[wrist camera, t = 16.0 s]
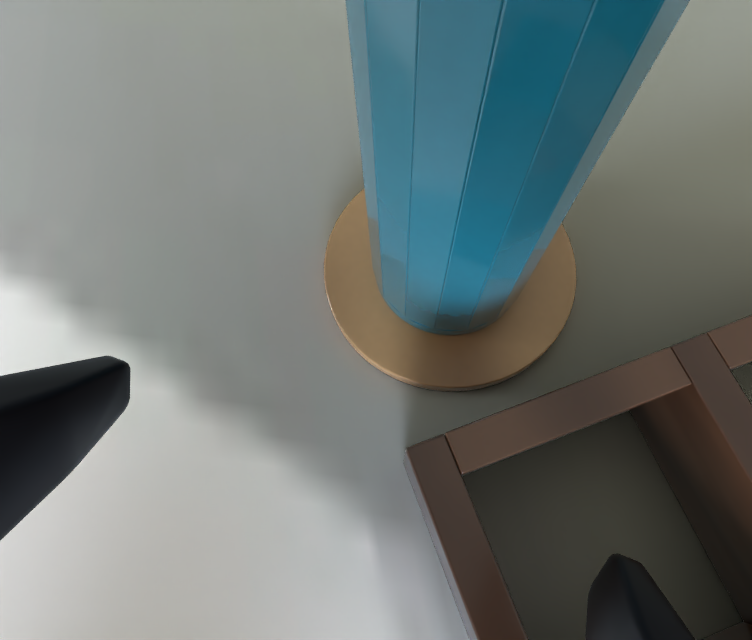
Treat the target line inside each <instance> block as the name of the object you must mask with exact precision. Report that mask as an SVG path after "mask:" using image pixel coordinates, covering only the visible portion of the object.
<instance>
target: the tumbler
mask: <svg viewBox="0 0 752 640" xmlns="http://www.w3.org/2000/svg"><path fill="white" fill-rule="evenodd" d="M689 1H690V0H346V10H347V20H348V30H349V40H350V49H351V59H352V69H353V79H354V89H355V99H356V109H357V119H358V129H359V138H360V148H361V158H362V168H363V178H364V188H365V198H366V208H367V218H368V227H369V237H370V247H371V257H372V267H373V272H374V274H375V280H376V283H377V286H378V289H379V291H380V294H381V296H382V298H383V299H384V301H385V302H386V304H387V305H388V306H389V307H390V309H391V310H392V311H393V312H394V313H395V314H396V315H397V316H399V317H400V318H401V319H402V320H404V321H405V322H407V323H408V324H410V325H412V326H414V327H416V328H418V329H421V330H423V331H426V332H430V333H434V334H440V335H461V334H468V333H472V332H475V331H478V330H481V329H483V328H485V327H487V326H489V325H491V324H492V323H494V322H496V321H497V320H498V319H499V318H501V317H502V316H503V315H504V314H505V313H506V312H507V311H508V310H509V309H510V307H511V306H512V304H513V303H514V302H515V301H516V300H517V298H518V297H519V295H520V294H521V292H522V290H523V288H524V287H525V285H526V283H527V282H528V280H529V278H530V276H531V275H532V273H533V271H534V269H535V268H536V266H537V264H538V263H539V261H540V259H541V257H542V256H543V254H544V252H545V250H546V249H547V247H548V245H549V243H550V242H551V240H552V238H553V237H554V235H555V233H556V231H557V230H558V228H559V226H560V224H561V223H562V221H563V219H564V218H565V216H566V214H567V212H568V211H569V209H570V207H571V205H572V204H573V202H574V200H575V198H576V197H577V195H578V193H579V192H580V190H581V188H582V186H583V185H584V183H585V181H586V179H587V178H588V176H589V174H590V172H591V171H592V169H593V167H594V166H595V164H596V162H597V160H598V159H599V157H600V155H601V153H602V152H603V150H604V148H605V147H606V145H607V143H608V141H609V140H610V138H611V136H612V134H613V133H614V131H615V129H616V127H617V126H618V124H619V122H620V121H621V119H622V117H623V115H624V114H625V112H626V110H627V108H628V107H629V105H630V103H631V102H632V100H633V98H634V96H635V95H636V93H637V91H638V89H639V88H640V86H641V84H642V82H643V81H644V79H645V77H646V76H647V74H648V72H649V70H650V69H651V67H652V65H653V63H654V62H655V60H656V58H657V56H658V55H659V53H660V51H661V50H662V48H663V46H664V44H665V43H666V41H667V39H668V37H669V36H670V34H671V32H672V31H673V29H674V27H675V25H676V24H677V22H678V20H679V18H680V17H681V15H682V13H683V11H684V10H685V8H686V6H687V5H688V3H689Z"/></svg>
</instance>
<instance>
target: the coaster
mask: <svg viewBox="0 0 752 640" xmlns="http://www.w3.org/2000/svg"><path fill="white" fill-rule="evenodd" d="M324 281H325V288H326V294H327V297H328V301H329V304H330V308H331V311H332V313H333V316H334V318H335V320H336V322H337V325H338V326H339V328H340V330H341V331H342V333H343V334H344V336H345V338H346V339H347V340H348V342H349V343H350V344H351V345H352V346H353V348H354V349H355V350H356V351H357V352H358V353H359V354H360V355H361V356H362V357H363V358H364V359H366V360H367V361H368V362H369V363H370V364H372V365H373V366H375V367H376V368H377V369H379V370H380V371H382V372H383V373H385V374H387V375H389V376H391V377H393V378H395V379H397V380H399V381H402V382H405V383H407V384H410V385H413V386H417V387H421V388H425V389H430V390H439V391H468V390H474V389H480V388H485V387H488V386H491V385H494V384H498V383H500V382H503V381H505V380H507V379H509V378H511V377H513V376H515V375H517V374H519V373H520V372H522V371H523V370H525V369H526V368H528V367H529V366H530V365H532V364H533V363H534V362H535V361H536V360H537V359H539V358H540V357H541V356H542V355H543V354H544V353H545V352H546V351H547V349H548V348H549V347H550V346H551V345H552V344H553V343H554V341H555V340H556V339H557V337H558V336H559V334H560V332H561V331H562V329H563V328H564V326H565V324H566V321H567V319H568V317H569V315H570V312H571V309H572V305H573V302H574V298H575V290H576V264H575V259H574V253H573V249H572V246H571V243H570V240H569V237H568V235H567V233H566V231H565V229H564V227H563V225H562V223H561V224H560V226H559V228H558V230H557V231H556V233H555V235H554V237H553V238H552V240H551V242H550V243H549V245H548V247H547V249H546V250H545V252H544V254H543V256H542V257H541V259H540V261H539V263H538V264H537V266H536V268H535V269H534V271H533V273H532V275H531V276H530V278H529V280H528V282H527V283H526V285H525V287H524V288H523V290H522V292H521V294H520V295H519V297H518V298H517V300H516V301H515V302H514V303H513V304H512V306H511V307H510V309H509V310H508V311H507V312H506V313H505V314H504V315H503V316H502V317H501V318H499V319H498V320H497V321H496V322H494V323H492V324H491V325H489V326H487V327H485V328H483V329H481V330H478V331H475V332H472V333H468V334H461V335H440V334H434V333H430V332H426V331H423V330H421V329H418V328H416V327H414V326H412V325H410V324H408V323H407V322H405V321H404V320H402V319H401V318H400V317H399V316H397V315H396V314H395V313H394V312H393V311H392V310H391V309H390V307H389V306H388V305H387V304H386V302H385V301H384V299H383V298H382V296H381V294H380V291H379V289H378V286H377V283H376V280H375V274H374V272H373V267H372V257H371V247H370V237H369V227H368V218H367V208H366V198H365V188H364V189H363V190H362V191H361V192H360V193H359V194H357V195H356V196H355V197H354V198H353V199H352V201H351V202H350V203H349V204H348V205H347V207H346V208H345V209H344V210H343V212H342V214H341V215H340V217H339V218H338V220H337V222H336V224H335V226H334V228H333V230H332V232H331V235H330V238H329V241H328V244H327V248H326V254H325V260H324Z"/></svg>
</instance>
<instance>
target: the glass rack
mask: <svg viewBox="0 0 752 640" xmlns="http://www.w3.org/2000/svg"><path fill="white" fill-rule="evenodd" d="M751 362H752V315H750V316H747V317H745V318H742V319H740V320H737V321H734V322H732V323H729V324H727V325H724V326H721V327H719V328H716V329H714V330H711V331H708V332H706V333H703V334H701V335H698V336H695V337H693V338H690V339H688V340H685V341H682V342H680V343H677V344H675V345H672V346H670V347H667V348H664V349H662V350H659V351H656V352H654V353H651V354H649V355H646V356H643V357H641V358H638V359H636V360H633V361H630V362H628V363H625V364H623V365H620V366H617V367H615V368H612V369H610V370H607V371H604V372H602V373H599V374H597V375H594V376H591V377H589V378H586V379H584V380H581V381H578V382H576V383H573V384H571V385H568V386H565V387H563V388H560V389H558V390H555V391H552V392H550V393H547V394H544V395H542V396H539V397H537V398H534V399H531V400H529V401H526V402H524V403H521V404H518V405H516V406H513V407H511V408H508V409H505V410H503V411H500V412H498V413H495V414H492V415H490V416H487V417H485V418H482V419H479V420H477V421H474V422H472V423H469V424H466V425H464V426H461V427H459V428H456V429H453V430H451V431H448V432H446V433H445V434H441V435H438V436H435V437H433V438H430V439H428V440H425V441H422V442H420V443H417V444H415V445H412V446H409V447H407V448H406V449H405V456H404V466H405V469H406V471H407V474H408V477H409V479H410V482H411V485H412V487H413V490H414V493H415V495H416V498H417V501H418V503H419V506H420V509H421V511H422V514H423V517H424V519H425V522H426V525H427V527H428V530H429V533H430V535H431V538H432V541H433V543H434V546H435V549H436V551H437V554H438V557H439V559H440V562H441V565H442V567H443V570H444V573H445V575H446V578H447V581H448V583H449V586H450V589H451V591H452V594H453V597H454V599H455V602H456V605H457V607H458V610H459V613H460V615H461V618H462V621H463V623H464V626H465V629H466V631H467V634H468V637H469V639H470V640H529V639H528V636H527V634H526V632H525V629H524V627H523V624H522V622H521V619H520V617H519V615H518V612H517V610H516V607H515V605H514V602H513V600H512V597H511V595H510V593H509V590H508V588H507V585H506V583H505V580H504V578H503V575H502V573H501V571H500V568H499V566H498V563H497V561H496V558H495V556H494V553H493V551H492V549H491V546H490V544H489V541H488V539H487V536H486V534H485V532H484V529H483V527H482V524H481V522H480V519H479V517H478V514H477V512H476V510H475V507H474V505H473V502H472V500H471V497H470V495H469V492H468V490H467V488H466V485H465V483H464V480H463V478H462V476H464V475H467V474H469V473H472V472H474V471H477V470H479V469H482V468H484V467H487V466H489V465H492V464H495V463H497V462H500V461H502V460H505V459H507V458H510V457H512V456H515V455H517V454H520V453H522V452H525V451H528V450H530V449H533V448H535V447H538V446H540V445H543V444H545V443H548V442H550V441H553V440H556V439H558V438H561V437H563V436H566V435H568V434H571V433H573V432H576V431H578V430H581V429H584V428H586V427H589V426H591V425H594V424H596V423H599V422H601V421H604V420H606V419H609V418H612V417H614V416H617V415H619V414H622V413H624V412H627V411H629V410H630V412H631V414H632V416H633V418H634V420H635V422H636V423H637V425H638V427H639V429H640V431H641V433H642V434H643V436H644V438H645V440H646V442H647V444H648V446H649V447H650V449H651V451H652V453H653V455H654V457H655V458H656V460H657V462H658V464H659V466H660V468H661V470H662V471H663V473H664V475H665V477H666V479H667V481H668V482H669V484H670V486H671V488H672V490H673V492H674V494H675V495H676V497H677V499H678V501H679V503H680V505H681V506H682V508H683V510H684V512H685V514H686V516H687V518H688V519H689V521H690V523H691V525H692V527H693V529H694V530H695V532H696V534H697V536H698V538H699V540H700V542H701V543H702V545H703V547H704V549H705V551H706V553H707V554H708V556H709V558H710V560H711V562H712V564H713V566H714V567H715V569H716V571H717V573H718V575H719V577H720V578H721V580H722V582H723V584H724V586H725V588H726V590H727V591H728V593H729V595H730V597H731V599H732V601H733V602H734V604H735V606H736V608H737V610H738V612H739V614H740V615H741V617H742V619H743V621H744V622H741V623H738V624H736V625H734V626H731V627H729V628H727V629H725V630H722V631H720V632H718V633H716V634H713V635H711V636H709V637H706V638H704V639H702V640H752V404H751V403H750V401H749V400H748V398H747V397H746V395H745V393H744V392H743V390H742V389H741V387H740V385H739V384H738V382H737V381H736V379H735V377H734V376H733V374H732V373H731V370H734V369H736V368H739V367H741V366H744V365H746V364H749V363H751Z"/></svg>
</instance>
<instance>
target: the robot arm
mask: <svg viewBox="0 0 752 640" xmlns="http://www.w3.org/2000/svg"><path fill="white" fill-rule="evenodd" d="M129 399H130V367H129V364H128V363H126V362H125V361H122V360H120V359H117V358H114V357H112V356H102V357H97V358H92V359H87V360H81V361H76V362H71V363H66V364H61V365H55V366H50V367H45V368H40V369H35V370H29V371H24V372H19V373H14V374H9V375H3V376H0V540H1V539H2V538H4V537H5V536H6V535H7V534H8V533H9V532H10V531H11V530H12V529H13V528H14V527H15V526H16V525H17V524H18V523H19V522H20V521H21V520H22V519H23V518H24V517H25V516H26V515H28V514H29V513H30V512H31V511H32V510H33V509H34V508H35V507H36V506H37V505H38V504H39V503H40V502H41V501H42V500H43V499H44V498H45V497H46V496H47V495H48V494H49V493H50V492H51V491H53V490H54V489H55V488H56V487H57V486H58V485H59V484H60V483H61V482H62V481H63V480H64V479H65V478H66V477H67V476H68V475H69V474H70V473H71V472H72V471H73V469H74V468H75V467H76V466H77V465H78V464H79V463H80V462H81V461H82V459H83V458H84V457H85V456H86V455H87V454H88V452H89V451H90V450H91V449H92V448H93V447H94V445H95V444H96V443H97V442H98V441H99V440H100V438H101V437H102V436H103V435H104V434H105V433H106V431H107V430H108V429H109V428H110V427H111V426H112V425H113V423H114V422H115V421H116V420H117V419H118V418H119V416H120V415H121V414H122V413H123V412H124V410H125V409H126V407H127V405H128V403H129ZM585 640H695V638H694V637H693V636H692V634H691V633H690V631H689V630H688V628H687V627H686V626H685V624H684V623H683V621H682V620H681V618H680V617H679V616H678V614H677V613H676V611H675V610H674V609H673V607H672V606H671V604H670V603H669V601H668V600H667V599H666V597H665V596H664V594H663V593H662V592H661V590H660V589H659V587H658V586H657V584H656V583H655V582H654V580H653V579H652V577H651V576H650V574H649V573H648V572H647V570H646V569H645V567H644V566H643V565H642V564H641V563H640V562H638V561H636V560H633V559H631V558H628V557H626V556H623V555H621V554H613V555H611V556H610V557H609V559H608V560H607V562H606V563H605V565H604V566H603V568H602V569H601V571H600V572H599V574H598V576H597V577H596V579H595V580H594V582H593V583H592V585H591V588H590V591H589V595H588V606H587V622H586V639H585Z"/></svg>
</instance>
